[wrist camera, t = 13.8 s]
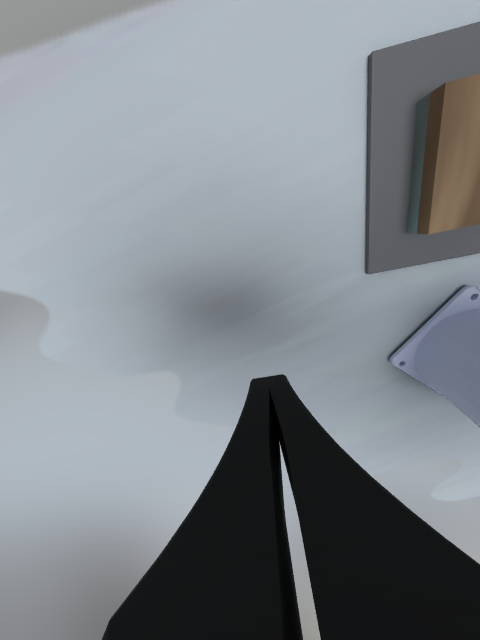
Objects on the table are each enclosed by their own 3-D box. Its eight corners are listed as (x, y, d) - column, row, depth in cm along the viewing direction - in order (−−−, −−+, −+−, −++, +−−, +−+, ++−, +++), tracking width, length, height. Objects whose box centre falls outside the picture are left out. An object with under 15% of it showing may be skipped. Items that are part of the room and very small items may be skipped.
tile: (416, 102, 13) (514, 77, 12) (406, 232, 16) (486, 216, 15) (445, 82, 11) (561, 52, 11) (428, 234, 14) (519, 215, 13)
